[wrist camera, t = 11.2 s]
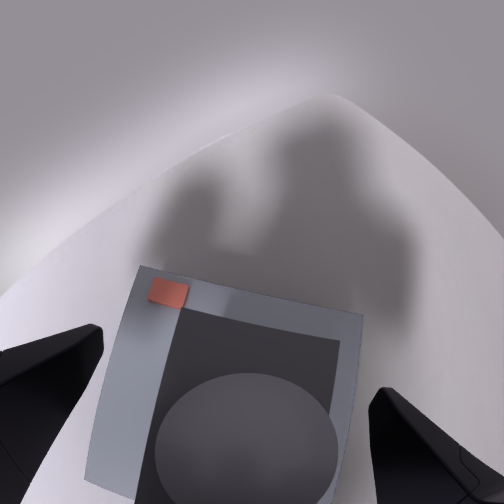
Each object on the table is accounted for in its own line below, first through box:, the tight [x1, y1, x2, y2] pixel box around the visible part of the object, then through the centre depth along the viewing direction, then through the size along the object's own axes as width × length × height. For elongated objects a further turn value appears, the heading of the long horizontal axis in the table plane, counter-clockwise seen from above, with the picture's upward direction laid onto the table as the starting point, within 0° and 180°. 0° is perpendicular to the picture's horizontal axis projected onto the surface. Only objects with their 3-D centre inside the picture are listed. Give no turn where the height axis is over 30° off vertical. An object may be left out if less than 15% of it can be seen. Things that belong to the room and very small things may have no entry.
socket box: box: [84, 265, 363, 504], centre depth 13 cm, size 12×12×4 cm
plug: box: [134, 307, 340, 504], centre depth 9 cm, size 4×3×13 cm
